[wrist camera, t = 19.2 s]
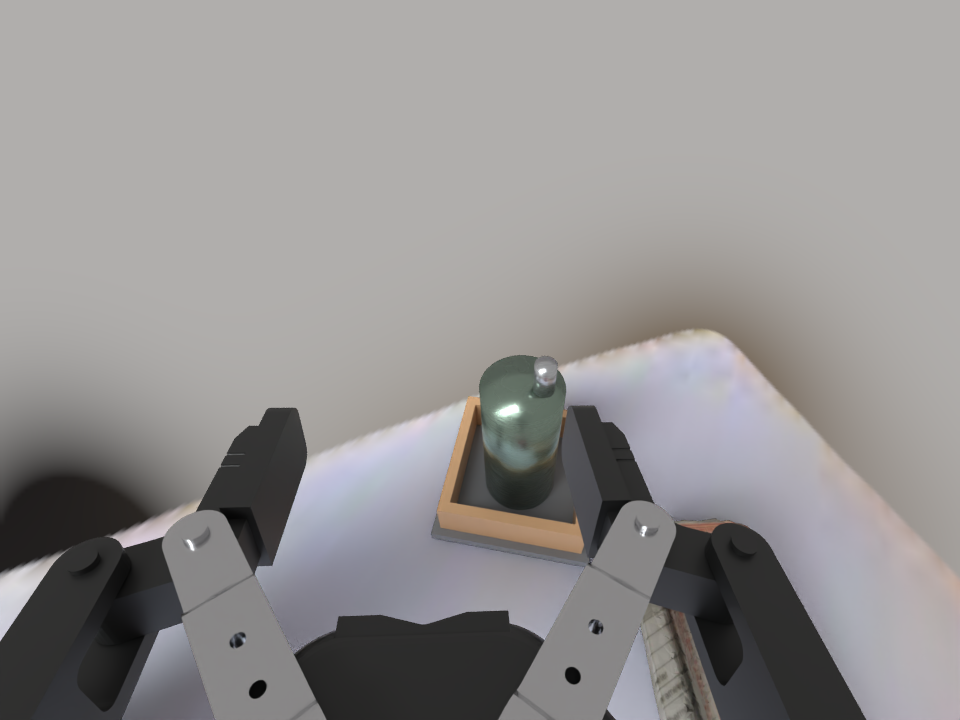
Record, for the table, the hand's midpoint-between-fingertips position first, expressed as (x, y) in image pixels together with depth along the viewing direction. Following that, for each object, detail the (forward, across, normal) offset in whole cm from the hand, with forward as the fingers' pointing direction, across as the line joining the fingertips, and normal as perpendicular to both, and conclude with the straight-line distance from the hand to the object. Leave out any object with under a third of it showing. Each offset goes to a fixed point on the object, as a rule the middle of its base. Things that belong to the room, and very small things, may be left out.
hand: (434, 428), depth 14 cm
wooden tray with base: (+17, -6, +21) cm, 28 cm away
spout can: (+16, -6, +21) cm, 27 cm away
